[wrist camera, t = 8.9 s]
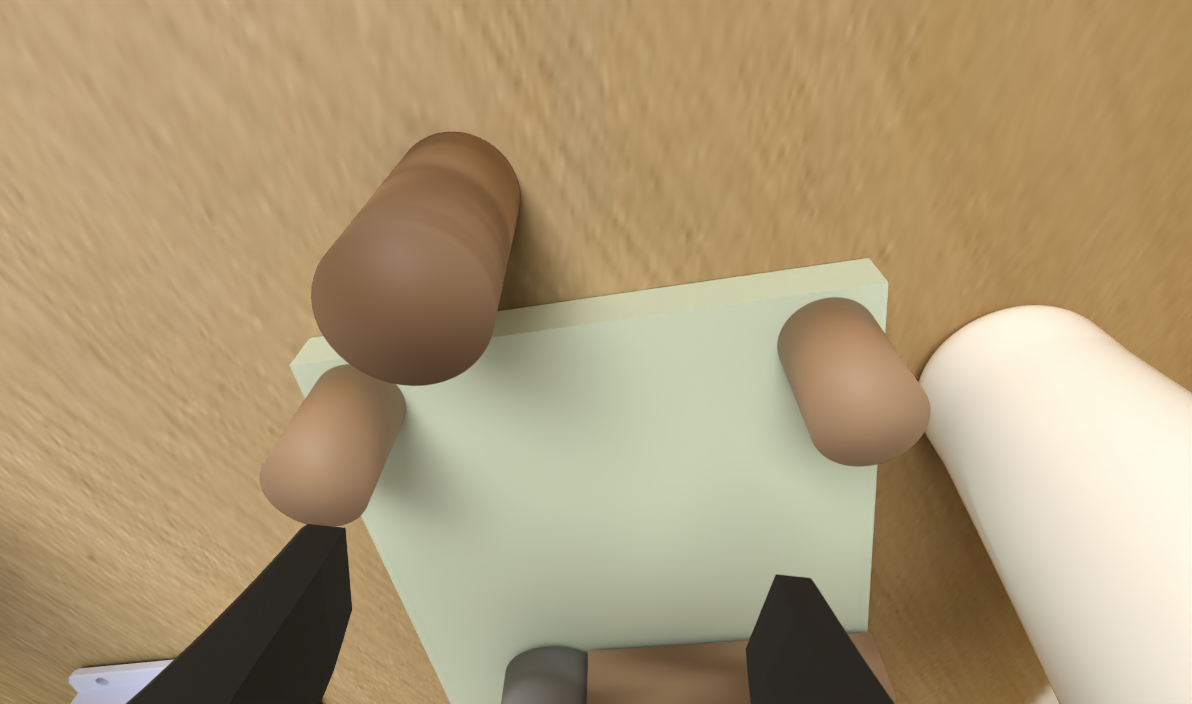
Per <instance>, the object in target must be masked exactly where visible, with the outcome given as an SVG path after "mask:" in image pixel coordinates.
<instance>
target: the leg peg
mask: <svg viewBox="0 0 1192 704" xmlns="http://www.w3.org/2000/svg"><path fill="white" fill-rule="evenodd" d="M519 207H520V188H519V184H518V180H517V177H516V174H515V172H514V170H513V168H512V166H511V165H510V163H509V162H508V160H507V159H506V158H505V157H504V155H503V154H502V153H501V152H500V151H499V150H498V149H496V148H495V147H494V146H493V145H491V144H490V143H488V142H487V141H485V140H483V139H481V138H479V137H476V136H474V135H471V134H466V133H461V132H443V133H437V134H434V135H431V136H428V137H426V138H424V139H422V140H421V141H419V142H418V143H416V144H415V145H414V146H413V147H412V148H411V149H410V150H409V151H408V152H407V153H406V155H405V156H404V157H403V158H402V160H401V161H400V162H399V163H398V165H397V166H396V167H395V168H394V170H393V171H392V172H391V173H390V175H389V176H388V177H387V178H386V180H385V181H384V182H383V183H382V184H381V186H380V187H379V188H378V189H377V191H376V192H375V193H374V194H373V196H372V197H371V198H370V199H369V201H368V202H367V203H366V204H365V206H364V207H363V208H362V209H361V211H360V212H359V213H358V214H357V216H356V217H355V218H354V219H353V221H352V222H351V223H350V224H349V225H348V227H347V228H346V229H345V230H344V232H343V233H342V234H341V235H340V237H339V238H338V239H337V240H336V242H335V243H334V244H333V245H332V247H331V248H330V249H329V250H328V252H327V253H326V254H325V255H324V257H323V258H322V260H321V261H320V263H319V265H318V267H317V269H316V272H315V275H314V278H313V283H312V292H311V299H312V308H313V312H314V316H315V319H316V322H317V324H318V327H319V329H320V331H321V332H322V334H323V336H324V338H325V339H326V341H327V342H328V343H329V345H330V346H331V347H332V348H333V349H334V351H335V352H336V353H337V354H338V355H339V356H340V357H341V358H343V359H344V360H345V361H346V362H347V363H349V364H350V365H352V366H353V367H354V368H356V369H357V370H359V371H361V372H363V373H365V374H367V375H369V376H371V377H373V378H376V379H378V380H381V381H385V382H388V383H393V384H398V385H407V386H424V385H431V384H437V383H440V382H444V381H447V380H449V379H452V378H454V377H456V376H458V375H460V374H462V373H463V372H465V371H466V370H467V369H469V368H470V367H472V366H473V365H474V364H475V363H476V362H477V361H478V360H479V358H480V357H481V356H482V354H483V353H484V352H485V350H486V348H487V346H488V344H489V342H490V340H491V337H492V334H493V330H494V325H495V320H496V316H497V311H498V306H499V302H500V297H501V292H502V287H503V283H504V278H505V273H506V269H507V264H508V259H509V255H510V250H511V245H512V241H513V236H514V231H515V226H516V222H517V217H518V212H519Z"/></svg>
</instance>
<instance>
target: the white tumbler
mask: <svg viewBox="0 0 1192 704" xmlns="http://www.w3.org/2000/svg"><path fill="white" fill-rule="evenodd" d="M918 383H919V384H920V386H921V387H922V388H923V390H924V391H925V393H926V395H927V397H928V399H929V402H930V408H931V411H930V419H929V423H928V426H927V428H926V430H925V432H924V433H925V434H926V436H927V438H928V439H929V441H930V442H931V444H932V446H933V447H934V449H935V450H936V452H937V454H938V455H939V457H940V458H941V460H942V462H943V463H944V465H945V467H946V469H947V471H948V473H949V475H950V477H951V479H952V481H953V483H954V485H955V487H956V489H957V491H958V493H959V495H960V497H961V499H962V501H963V503H964V505H965V507H966V509H967V512H968V514H969V516H970V518H971V520H972V522H973V524H974V526H975V528H976V530H977V532H978V534H979V536H980V538H981V540H982V542H983V544H984V547H985V549H986V551H987V553H988V555H989V557H990V559H991V561H992V563H993V565H994V567H995V569H996V571H997V574H998V576H999V578H1000V580H1001V582H1002V584H1003V586H1004V588H1005V590H1006V592H1007V594H1008V597H1009V599H1010V601H1011V603H1012V605H1013V607H1014V609H1015V611H1016V613H1017V615H1018V617H1019V620H1020V622H1021V624H1022V626H1023V628H1024V630H1025V632H1026V634H1027V636H1028V639H1029V641H1030V643H1031V645H1032V647H1033V649H1034V651H1035V653H1036V655H1037V658H1038V660H1039V662H1040V664H1041V666H1042V668H1043V670H1044V672H1045V674H1046V676H1047V679H1048V681H1049V683H1050V685H1051V687H1052V689H1053V691H1054V693H1055V695H1056V697H1057V700H1058V702H1059V704H1192V393H1191V392H1190V391H1188V390H1187V389H1185V388H1184V387H1182V386H1181V385H1179V384H1178V383H1176V382H1175V381H1173V380H1171V379H1170V378H1168V377H1167V376H1165V375H1164V374H1162V373H1161V372H1159V371H1158V370H1156V369H1155V368H1153V367H1152V366H1150V365H1149V364H1147V363H1146V362H1144V361H1143V360H1141V359H1140V358H1138V357H1137V356H1135V355H1134V354H1132V353H1131V352H1130V351H1128V350H1127V349H1126V348H1125V347H1123V346H1122V345H1121V344H1120V343H1118V342H1117V341H1116V340H1115V339H1113V338H1112V337H1111V336H1110V335H1109V334H1107V333H1106V332H1105V331H1104V330H1102V329H1101V328H1100V327H1099V326H1097V325H1096V324H1094V323H1093V322H1091V321H1090V320H1089V319H1087V318H1085V317H1083V316H1081V315H1079V314H1077V313H1075V312H1072V311H1069V310H1067V309H1063V308H1059V307H1053V306H1046V305H1024V306H1016V307H1011V308H1006V309H1002V310H999V311H995V312H993V313H990V314H987V315H985V316H982V317H980V318H978V319H976V320H974V321H972V322H970V323H969V324H967V325H965V326H964V327H962V328H961V329H959V330H958V331H956V332H955V333H954V334H952V335H951V336H950V337H949V338H948V339H947V340H945V341H944V342H943V343H942V344H941V345H940V346H939V348H938V349H937V350H936V351H935V352H934V353H933V355H932V356H931V358H930V359H929V361H928V362H927V364H926V366H925V367H924V370H923V372H922V374H921V376H920V379H919V382H918Z"/></svg>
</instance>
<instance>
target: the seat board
mask: <svg viewBox="0 0 1192 704" xmlns="http://www.w3.org/2000/svg"><path fill="white" fill-rule="evenodd" d="M887 294H888V281H887V280H886V279H885V278H884V276H883V275H882V274H881V273H880V271H879V270H878V269H877V268H876V266H875V265H874V264H873V263H872V261H871V260H870V259H869V258H866V259H859V260H852V261H845V262H838V263H831V264H824V265H817V266H810V267H803V268H796V269H789V270H782V271H775V272H768V273H761V274H754V275H747V276H740V277H733V278H726V279H719V280H712V281H705V282H698V283H691V284H684V285H677V286H670V287H663V288H656V289H649V290H642V291H635V292H628V293H621V294H614V295H607V296H600V297H593V298H586V299H579V300H572V301H565V302H558V303H551V304H544V305H537V306H530V307H523V308H516V309H509V310H502V311H497V316H496V320H495V325H494V330H493V334H492V337H491V340H490V342H489V344H488V346H487V348H486V350H485V352H484V353H483V354H482V356H481V357H480V358H479V360H478V361H477V362H476V363H475V364H474V365H473V366H472V367H470V368H469V369H467V370H466V371H465V372H463V373H462V374H460V375H458V376H456V377H454V378H452V379H449V380H447V381H444V382H440V383H437V384H431V385H424V386H407V385H398V384H393V383H388V382H385V381H381V380H378V379H376V378H373V377H371V376H369V375H367V374H365V373H363V372H361V371H359V370H357V369H356V368H354V367H353V366H352V365H350V364H349V363H347V362H346V361H345V360H344V359H343V358H341V357H340V356H339V355H338V354H337V353H336V352H335V351H334V349H333V348H332V347H331V346H330V345H329V343H328V342H327V341H326V339H325V338H324V336H321V337H314V338H309V340H308V341H307V342H306V344H305V345H304V347H303V348H302V349H301V351H300V352H299V353H298V355H297V356H296V357H295V359H294V360H293V362H292V363H291V364H290V368H291V370H292V372H293V374H294V376H295V378H296V380H297V383H298V385H299V387H300V389H301V391H302V393H303V395H304V397H305V400H304V402H303V403H302V405H301V406H300V408H299V409H298V411H297V412H296V414H295V415H294V417H293V419H292V420H291V422H290V423H289V425H288V426H287V428H286V429H285V431H284V432H283V434H282V436H281V437H280V439H279V440H278V442H277V443H276V445H275V446H274V448H273V449H272V451H271V452H270V454H269V456H268V457H267V459H266V460H265V462H264V463H263V465H262V467H261V471H260V484H261V488H262V490H263V492H264V494H265V496H266V497H267V499H268V500H269V501H270V503H271V504H272V505H273V506H274V507H275V508H276V509H278V510H279V511H280V512H282V513H283V514H285V515H286V516H288V517H290V518H292V519H294V520H296V521H299V522H302V523H305V524H313V525H322V526H331V527H334V526H340V525H344V524H347V523H350V522H352V521H354V520H355V519H357V518H358V517H360V516H361V517H362V519H363V521H364V523H365V525H366V527H367V529H368V531H369V533H370V536H371V538H372V540H373V542H374V544H375V546H376V548H377V550H378V552H379V554H380V556H381V559H382V561H383V563H384V565H385V567H386V569H387V571H388V573H389V575H390V577H391V580H392V582H393V584H394V586H395V588H396V590H397V592H398V594H399V596H400V598H401V600H402V603H403V605H404V607H405V609H406V611H407V613H408V615H409V617H410V619H411V621H412V624H413V626H414V628H415V630H416V632H417V634H418V636H419V638H420V640H421V642H422V645H423V647H424V649H425V651H426V653H427V655H428V657H429V659H430V661H431V663H432V665H433V668H434V670H435V672H436V674H437V676H438V678H439V680H440V682H441V684H442V686H443V689H444V691H445V693H446V695H447V697H448V699H449V701H450V703H451V704H501V700H502V693H503V686H504V679H505V672H506V668H507V666H508V664H509V662H510V661H511V660H512V659H513V658H514V657H516V656H517V655H519V654H520V653H522V652H525V651H527V650H530V649H534V648H539V647H562V648H568V649H572V650H575V651H578V652H580V653H582V654H584V655H586V656H588V651H595V650H611V649H626V648H641V647H656V646H671V645H687V644H702V643H717V642H732V641H747V640H749V639H750V637H751V634H752V632H753V629H754V627H755V624H756V622H757V619H758V617H759V614H760V612H761V609H762V607H763V605H764V602H765V600H766V597H767V595H768V592H769V590H770V587H771V585H772V582H773V580H774V577H775V575H776V574H778V575H787V576H797V577H806V578H811V579H812V580H813V582H814V583H815V584H816V586H817V587H818V589H819V591H820V592H821V594H822V595H823V597H824V598H825V600H826V601H827V603H828V605H829V606H830V608H831V609H832V611H833V612H834V614H835V615H836V617H837V619H838V620H839V622H840V623H841V625H842V626H843V628H844V629H845V631H846V632H847V634H854V633H867V630H868V613H869V596H870V580H871V563H872V546H873V529H874V513H875V496H876V479H877V464H881V463H884V462H887V461H890V460H892V459H894V458H896V457H898V456H900V455H901V454H903V453H905V452H906V451H907V450H909V449H910V448H911V447H912V446H913V445H914V444H915V443H916V442H917V441H918V440H919V439H920V438H921V436H922V435H923V433H924V432H925V430H926V428H927V426H928V423H929V419H930V411H931V408H930V402H929V399H928V397H927V395H926V393H925V391H924V390H923V388H922V387H921V386H920V384H919V383H918V381H917V380H916V378H915V377H914V375H913V374H912V372H911V371H910V369H909V368H908V366H907V365H906V364H905V362H904V361H903V359H902V358H901V356H900V355H899V353H898V352H897V350H896V349H895V347H894V346H893V345H892V343H891V342H890V340H889V339H888V337H887V336H886V334H885V328H886V311H887Z"/></svg>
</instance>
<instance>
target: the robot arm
mask: <svg viewBox="0 0 1192 704" xmlns="http://www.w3.org/2000/svg"><path fill="white" fill-rule="evenodd" d="M351 611H352V603H351V590H350V578H349V566H348V554H347V541H346V529H345V528H341V527H331V526H322V525H313V524H307V525H306V526H304V527H302V528H301V529H300V530H299V531H298V533H297V534H296V535H295V536H294V537H293V538H292V539H291V541H290V542H289V543H288V544H287V545H286V546H285V547H284V548H283V549H282V551H281V552H280V553H279V554H278V555H277V556H276V557H275V558H274V559H273V561H272V562H271V563H270V564H269V565H268V566H267V567H266V568H265V569H264V570H263V571H262V572H261V574H260V575H259V576H258V577H257V578H256V579H255V580H254V581H253V582H252V583H251V584H250V585H249V586H248V587H247V588H246V589H245V590H244V591H243V593H242V594H241V595H240V596H239V597H238V598H237V599H236V600H235V601H234V602H233V603H232V604H231V605H230V606H229V607H228V608H227V609H226V610H225V611H224V612H223V613H222V614H221V615H220V616H219V617H218V618H217V619H216V620H215V621H214V622H213V623H212V624H211V625H210V626H209V627H208V628H207V629H206V630H205V631H204V632H203V633H202V634H201V635H200V636H199V637H198V638H197V639H196V640H195V641H194V642H193V643H192V644H190V645H189V646H188V647H187V648H186V649H185V650H184V651H183V652H182V653H181V654H180V655H179V656H178V657H176V658H175V659H174V660H163V661H153V662H142V663H132V664H121V665H110V666H100V667H89V668H80V669H76V670H74V671H73V673H72V674H71V675H70V677H69V678H68V682H69V684H70V685H71V686H72V687H73V688H74V689H75V690H76V691H77V692H78V693H77V695H76V696H75V698H74V699H73V700H72V702H71V703H70V704H320V703H321V700H322V698H323V695H324V693H325V691H326V688H327V686H328V683H329V681H330V678H331V676H332V674H333V671H334V668H335V665H336V661H337V658H338V655H339V652H340V648H341V645H342V642H343V638H344V635H345V632H346V628H347V625H348V621H349V618H350V615H351ZM746 660H747V672H748V683H749V693H750V702H751V704H895V703H894V702H893V700H892V699H891V697H890V696H889V694H888V693H887V692H886V690H885V689H884V687H883V686H882V685H881V683H880V682H879V680H878V679H877V677H876V676H875V675H874V673H873V672H872V670H871V669H870V667H869V666H868V664H867V663H866V661H865V660H864V658H863V657H862V655H861V654H860V652H859V651H858V649H857V648H856V646H855V645H854V643H853V642H852V640H851V639H850V637H849V636H848V634H847V632H846V631H845V629H844V628H843V626H842V625H841V623H840V622H839V620H838V619H837V617H836V615H835V614H834V612H833V611H832V609H831V608H830V606H829V605H828V603H827V601H826V600H825V598H824V597H823V595H822V594H821V592H820V591H819V589H818V587H817V586H816V584H815V583H814V582H813V580H812V579H811V578H806V577H797V576H787V575H778V574H776V575H775V577H774V580H773V582H772V585H771V587H770V590H769V592H768V595H767V597H766V600H765V602H764V605H763V607H762V609H761V612H760V614H759V617H758V619H757V622H756V624H755V627H754V629H753V632H752V634H751V637H750V639H749V642H748V644H747V647H746Z"/></svg>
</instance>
